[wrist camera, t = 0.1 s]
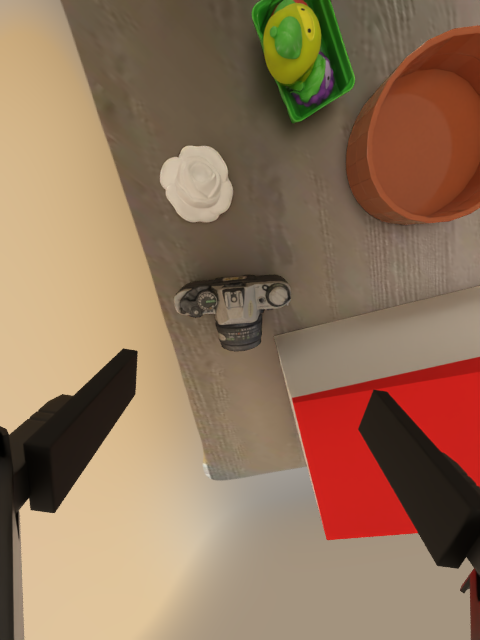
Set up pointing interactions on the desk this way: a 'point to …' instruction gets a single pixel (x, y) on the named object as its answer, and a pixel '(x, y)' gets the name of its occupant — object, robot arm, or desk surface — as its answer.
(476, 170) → the pot
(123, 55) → the desk surface
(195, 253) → the desk surface
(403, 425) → the robot arm
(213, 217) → the rose
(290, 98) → the fruit basket
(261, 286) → the camera
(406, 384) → the bookstore
